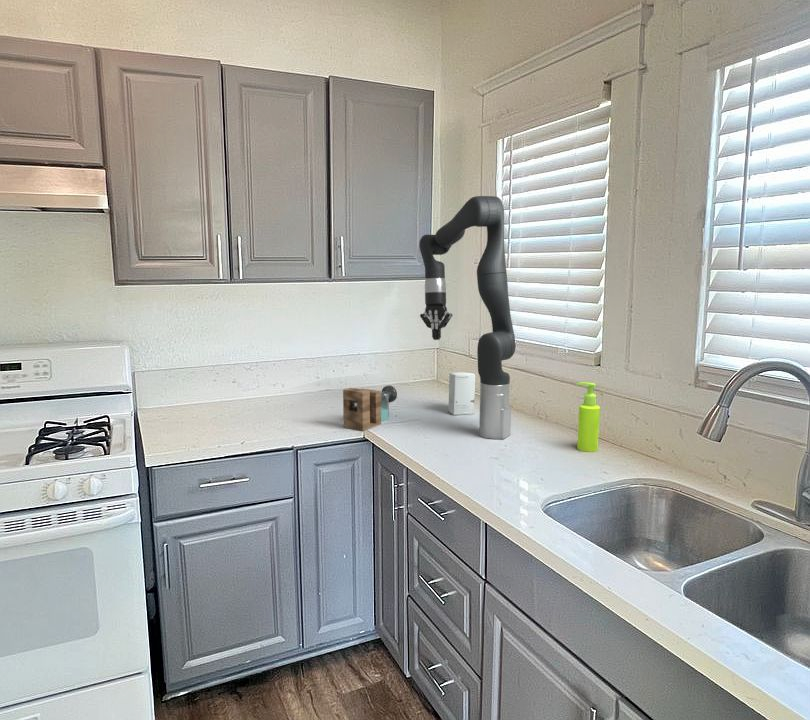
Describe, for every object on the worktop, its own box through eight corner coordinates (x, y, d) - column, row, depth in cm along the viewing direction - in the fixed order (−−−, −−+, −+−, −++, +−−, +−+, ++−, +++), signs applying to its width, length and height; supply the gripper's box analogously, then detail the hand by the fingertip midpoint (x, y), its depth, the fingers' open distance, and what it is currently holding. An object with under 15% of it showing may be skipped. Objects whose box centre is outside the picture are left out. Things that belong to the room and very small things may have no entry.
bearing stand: (381, 424, 208) (380, 386, 206) (362, 431, 199) (362, 392, 197) (362, 420, 212) (362, 384, 210) (343, 427, 204) (343, 389, 202)
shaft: (397, 414, 218) (397, 386, 216) (362, 427, 201) (362, 397, 199) (383, 412, 221) (383, 384, 220) (348, 425, 204) (347, 395, 202)
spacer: (388, 420, 214) (388, 409, 213) (378, 423, 209) (378, 412, 208) (376, 418, 217) (376, 407, 216) (366, 421, 212) (366, 410, 211)
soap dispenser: (578, 444, 186) (582, 379, 182) (600, 448, 181) (604, 382, 178) (570, 448, 181) (573, 383, 178) (593, 453, 177) (596, 386, 173)
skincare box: (453, 415, 219) (454, 375, 217) (447, 411, 225) (448, 372, 222) (475, 413, 222) (475, 373, 219) (468, 410, 227) (469, 371, 225)
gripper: (414, 292, 218) (415, 340, 220) (445, 290, 210) (446, 340, 212) (425, 292, 224) (427, 338, 226) (456, 290, 216) (457, 339, 218)
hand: (436, 339), depth 219 cm, fingers closed
